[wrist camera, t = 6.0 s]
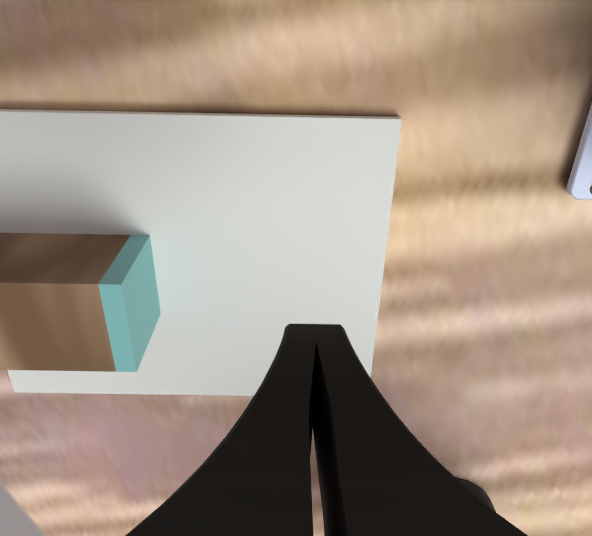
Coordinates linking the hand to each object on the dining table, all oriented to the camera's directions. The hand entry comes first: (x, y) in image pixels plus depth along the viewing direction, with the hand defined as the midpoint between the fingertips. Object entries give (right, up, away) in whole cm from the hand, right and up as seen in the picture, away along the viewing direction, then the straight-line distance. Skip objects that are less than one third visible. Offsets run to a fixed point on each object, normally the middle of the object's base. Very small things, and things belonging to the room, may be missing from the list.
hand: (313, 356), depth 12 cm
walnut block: (-7, +1, +8) cm, 11 cm away
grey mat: (-6, +2, +10) cm, 12 cm away
